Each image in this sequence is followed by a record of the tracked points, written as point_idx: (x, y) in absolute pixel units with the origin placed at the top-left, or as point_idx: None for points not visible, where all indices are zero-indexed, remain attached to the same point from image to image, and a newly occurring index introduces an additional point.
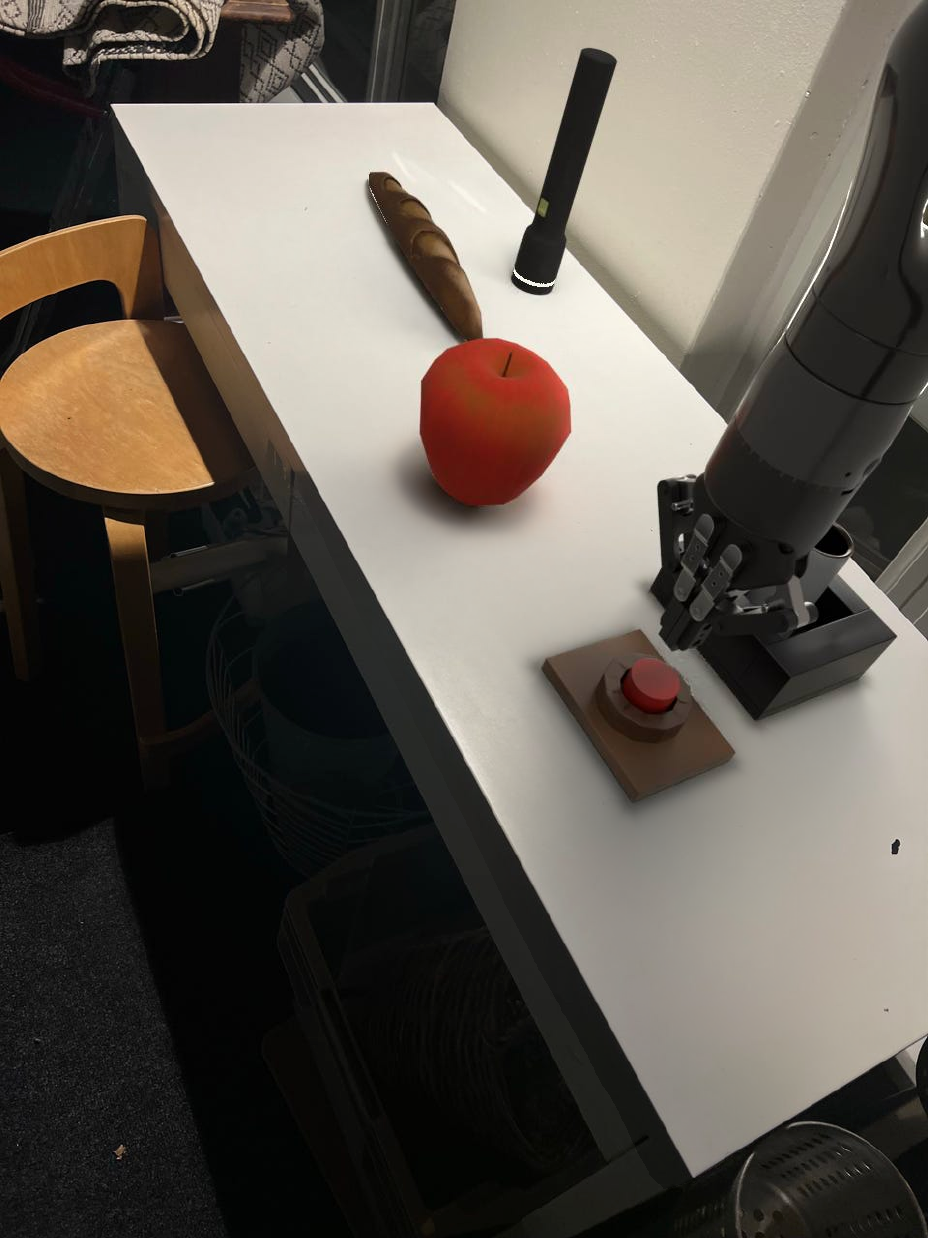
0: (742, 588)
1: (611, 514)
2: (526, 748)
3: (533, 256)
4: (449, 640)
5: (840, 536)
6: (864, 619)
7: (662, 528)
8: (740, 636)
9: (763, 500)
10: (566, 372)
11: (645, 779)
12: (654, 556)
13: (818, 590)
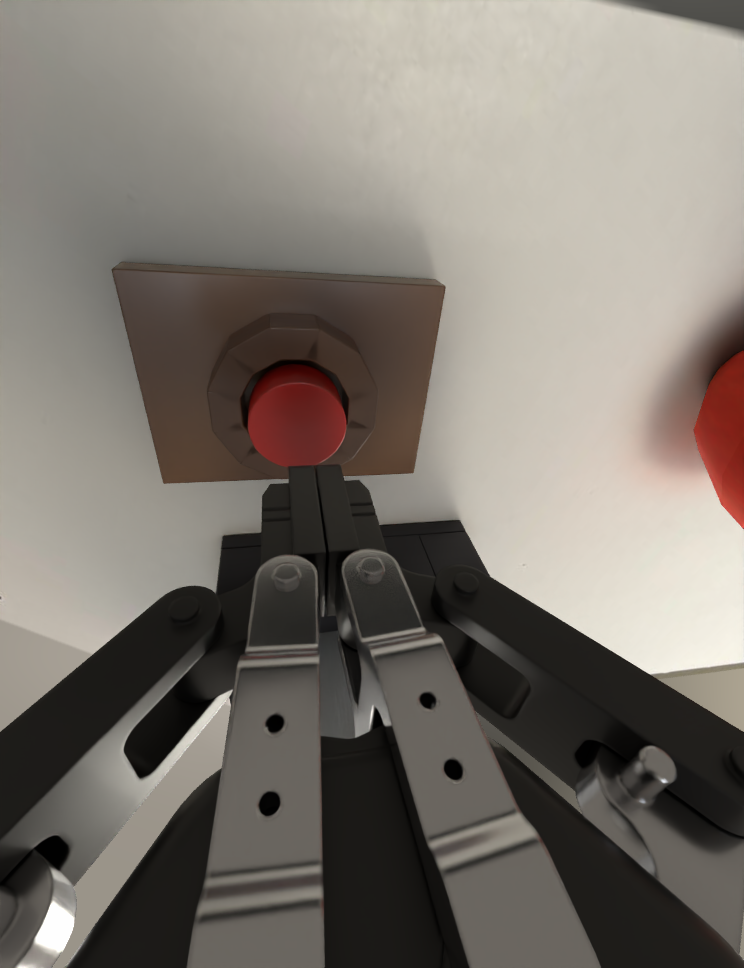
0: (168, 830)
1: (571, 535)
2: (298, 112)
3: None
4: (580, 126)
5: None
6: None
7: (584, 648)
8: None
9: None
10: (736, 586)
11: (141, 303)
12: (493, 550)
13: (320, 718)
